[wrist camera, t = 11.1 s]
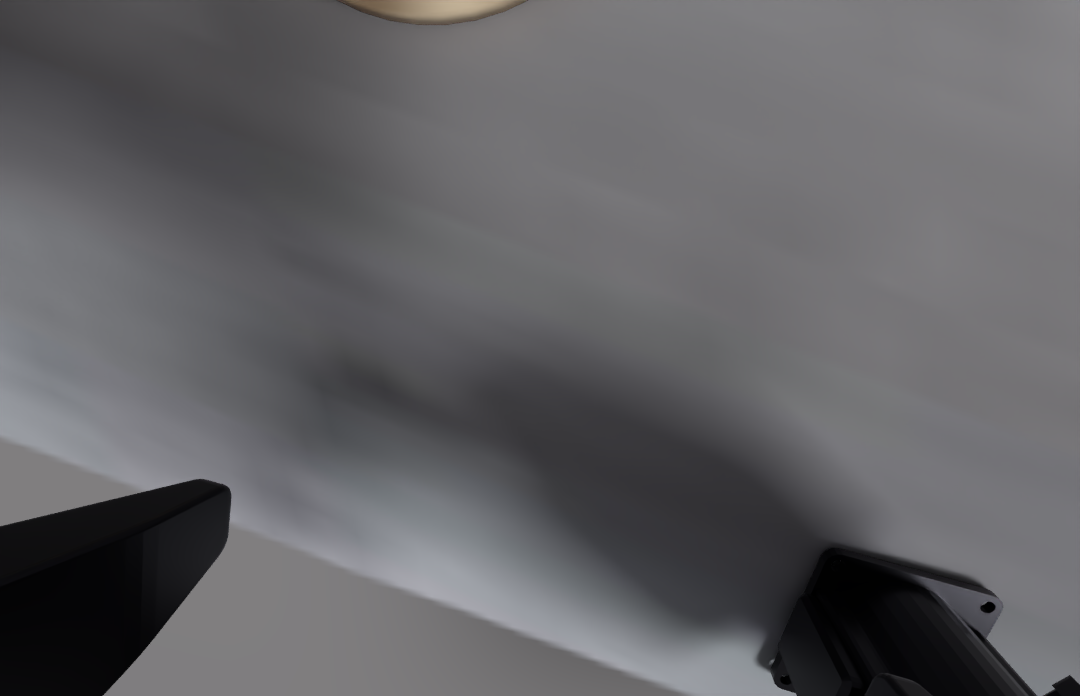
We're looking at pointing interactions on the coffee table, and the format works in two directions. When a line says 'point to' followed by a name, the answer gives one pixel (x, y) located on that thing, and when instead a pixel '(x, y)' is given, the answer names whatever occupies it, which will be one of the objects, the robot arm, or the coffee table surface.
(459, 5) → the oak plate
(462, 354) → the coffee table surface
